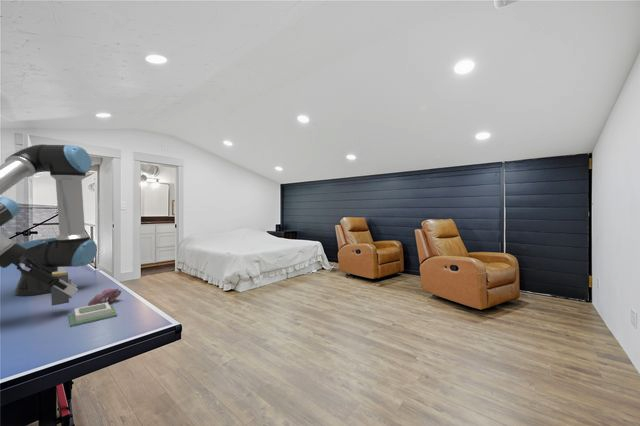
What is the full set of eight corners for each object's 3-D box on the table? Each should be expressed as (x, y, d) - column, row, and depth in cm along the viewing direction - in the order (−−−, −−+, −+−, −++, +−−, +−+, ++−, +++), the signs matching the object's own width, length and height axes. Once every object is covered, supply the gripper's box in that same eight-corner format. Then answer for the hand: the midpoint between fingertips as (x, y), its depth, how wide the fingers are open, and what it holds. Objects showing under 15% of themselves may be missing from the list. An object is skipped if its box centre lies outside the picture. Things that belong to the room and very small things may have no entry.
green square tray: (68, 315, 96) (68, 308, 96) (111, 307, 104) (111, 300, 104) (70, 326, 87) (70, 318, 87) (117, 316, 96) (117, 308, 95)
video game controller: (94, 312, 103) (101, 296, 102) (85, 306, 104) (92, 290, 103) (118, 303, 112) (125, 288, 112) (110, 297, 113) (116, 283, 112)
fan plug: (51, 302, 98) (50, 272, 98) (71, 298, 102) (70, 269, 101) (51, 305, 95) (50, 274, 94) (72, 302, 98) (70, 272, 98)
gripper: (-6, 256, 93) (64, 293, 105) (-15, 266, 80) (65, 306, 92) (17, 239, 96) (81, 277, 108) (12, 245, 84) (85, 287, 96)
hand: (74, 290), depth 100 cm, fingers closed on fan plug, 4 cm apart
